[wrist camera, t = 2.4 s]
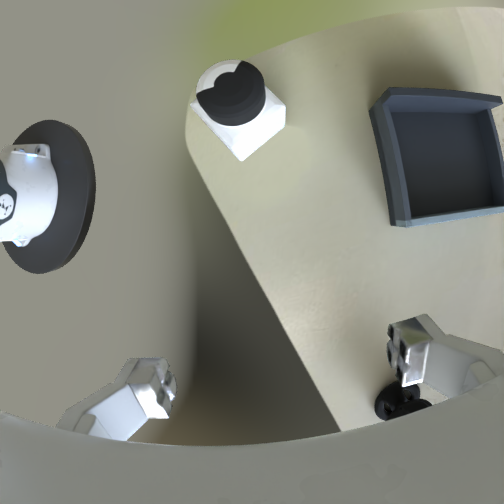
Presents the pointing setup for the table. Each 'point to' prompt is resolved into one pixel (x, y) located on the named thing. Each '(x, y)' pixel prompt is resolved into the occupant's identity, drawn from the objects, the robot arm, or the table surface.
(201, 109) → the medicine bottle
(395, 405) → the webcam
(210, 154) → the table surface
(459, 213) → the drawer
